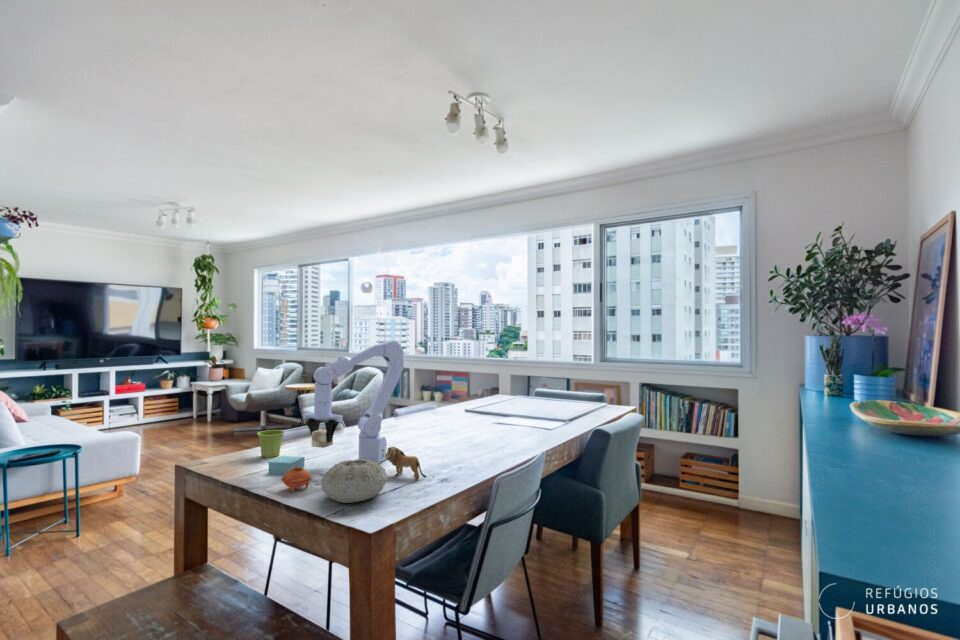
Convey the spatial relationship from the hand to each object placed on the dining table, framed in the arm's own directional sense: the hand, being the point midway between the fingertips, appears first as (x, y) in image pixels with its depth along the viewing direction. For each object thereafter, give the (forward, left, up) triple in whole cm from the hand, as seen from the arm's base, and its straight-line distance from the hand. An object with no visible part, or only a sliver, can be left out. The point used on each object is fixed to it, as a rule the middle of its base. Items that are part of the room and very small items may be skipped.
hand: (322, 441), depth 165 cm
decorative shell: (-27, +24, -9) cm, 37 cm away
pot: (-7, +23, -9) cm, 26 cm away
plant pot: (+26, -6, -9) cm, 28 cm away
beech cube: (0, 0, -2) cm, 2 cm away
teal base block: (+8, +8, -9) cm, 14 cm away
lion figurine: (-32, +2, -9) cm, 33 cm away
